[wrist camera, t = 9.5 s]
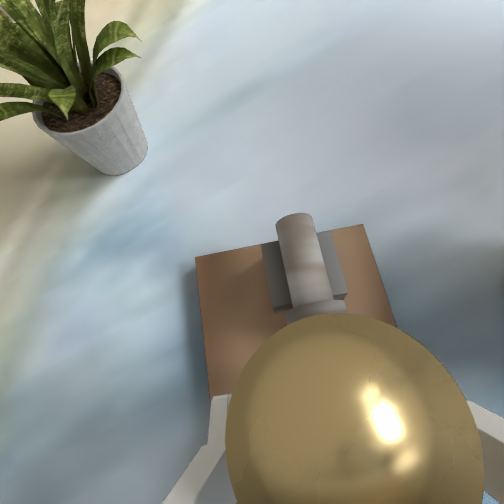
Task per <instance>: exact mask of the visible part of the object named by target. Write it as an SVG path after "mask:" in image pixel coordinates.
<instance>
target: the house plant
mask: <svg viewBox="0 0 504 504" xmlns="http://www.w3.org/2000/svg"><path fill="white" fill-rule="evenodd" d="M35 1H36V4H37V6H38V8H39V11H40V13H41V15H42V17H41V15H40V14H39V13H38V11H37V10H36V9H35V7H34V6H33V5H32V3H31V2H30V0H0V6H1V7H2V8H3V9H4V10H5V11H6V12H7V13H8V14H9V15H10V16H11V17H12V18H13V19H14V21H15V22H16V23H12V21H11V20H10V19H9V18H8V16H6V15H5V14H4V13H3V12H2V11H1V10H0V67H2V68H5V69H8V70H10V71H13V72H16V73H18V74H20V75H22V76H23V77H24V78H25V79H26V80H27V82H28V83H29V84H30V85H31V86H29V85H24V84H14V83H0V97H18V98H26V99H30V100H33V103H29V102H5V103H1V104H0V121H1V120H4V119H7V118H10V117H13V116H16V115H20V114H24V113H28V112H32V114H33V119H34V121H35V123H36V124H37V126H38V127H39V128H40V129H42V130H43V131H44V132H46V133H47V134H49V135H50V136H51V137H53V138H54V139H56V140H57V141H58V142H60V143H61V144H62V145H64V146H65V147H67V148H68V149H69V150H71V151H72V152H74V153H75V154H76V155H78V156H79V157H81V158H82V159H83V160H85V161H86V162H88V163H89V164H90V165H92V166H93V167H95V168H96V169H97V170H99V171H100V172H102V173H104V174H107V175H121V174H125V173H127V172H128V171H130V170H132V169H133V168H135V167H136V166H137V165H138V164H140V163H141V162H142V161H143V159H144V157H145V155H146V152H147V149H148V148H147V141H146V138H145V135H144V133H143V130H142V127H141V125H140V122H139V119H138V117H137V114H136V111H135V109H134V106H133V103H132V101H131V98H130V95H129V92H128V90H127V87H126V84H125V82H124V79H123V77H122V74H121V73H120V72H119V71H118V70H117V69H116V68H115V67H113V66H114V65H116V64H117V63H119V62H121V61H123V60H125V59H126V58H131V57H139V56H137V55H135V54H134V53H132V52H130V51H129V50H127V49H126V48H120V47H116V48H111V49H109V50H107V51H105V52H104V53H103V54H102V55H101V56H99V57H98V54H99V53H100V52H101V51H102V50H103V49H104V48H105V47H106V46H108V45H110V44H112V43H114V42H116V41H118V40H121V39H123V38H125V37H128V36H130V37H137V35H136V34H135V33H134V32H133V31H132V30H131V29H130V27H129V26H128V25H127V24H125V23H123V22H120V21H113V22H111V23H109V24H107V25H106V26H105V27H104V28H103V29H102V31H101V32H100V33H99V35H98V36H97V38H96V42H95V45H94V48H93V61H90V56H89V51H88V46H87V41H86V34H85V18H84V7H85V0H62V1H59V2H57V3H55V0H35ZM69 19H70V24H71V29H72V41H73V48H72V43H71V35H70V27H69ZM137 38H138V37H137ZM138 39H139V38H138ZM139 40H140V39H139ZM140 41H141V40H140ZM75 46H76V51H77V55H78V59H79V63H77V58H76V51H75ZM73 50H74V51H73ZM97 57H98V59H97ZM139 58H141V57H139ZM96 59H97V60H96Z"/></svg>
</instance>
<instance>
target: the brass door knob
mask: <svg viewBox="0 0 504 504" xmlns="http://www.w3.org/2000/svg"><path fill="white" fill-rule="evenodd" d="M225 449H226V461H227V467H228V472H229V478H230V481H231V484H232V488H233V491H234V495H235V497H236V500H237V502H238V504H482V499H483V492H484V462H483V452H482V447H481V442H480V437H479V433H478V430H477V427H476V424H475V420H474V417H473V415H472V412H471V410H470V408H469V406H468V403H467V401H466V399H465V397H464V395H463V394H462V392H461V390H460V389H459V387H458V385H457V383H456V382H455V380H454V379H453V378H452V376H451V375H450V374H449V372H448V371H447V370H446V368H445V367H444V366H443V365H442V364H441V363H440V361H439V360H438V359H437V358H436V357H435V356H434V355H433V354H432V353H431V352H430V351H429V350H427V349H426V348H425V347H424V346H423V345H422V344H421V343H419V342H418V341H417V340H415V339H414V338H412V337H411V336H409V335H408V334H407V333H405V332H403V331H401V330H399V329H398V328H396V327H394V326H392V325H390V324H387V323H385V322H382V321H380V320H377V319H374V318H370V317H367V316H363V315H357V314H349V313H328V314H319V315H315V316H311V317H307V318H303V319H301V320H298V321H296V322H293V323H291V324H289V325H287V326H286V327H284V328H282V329H280V330H279V331H277V332H276V333H275V334H273V335H272V336H271V337H269V338H268V339H267V340H266V341H265V342H264V343H263V344H262V345H261V346H260V347H259V348H258V349H257V350H256V351H255V352H254V354H253V355H252V356H251V358H250V359H249V360H248V361H247V363H246V365H245V367H244V368H243V370H242V372H241V373H240V375H239V378H238V380H237V382H236V384H235V387H234V389H233V392H232V396H231V399H230V403H229V407H228V413H227V418H226V429H225Z"/></svg>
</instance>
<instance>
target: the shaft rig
mask: <svg viewBox="0 0 504 504" xmlns="http://www.w3.org/2000/svg"><path fill="white" fill-rule="evenodd" d="M276 230H277V235H278V240H279V241H274V242H269V243H264V244H260V245H255V246H250V247H245V248H240V249H235V250H230V251H225V252H220V253H215V254H210V255H204V256H199V257H195V263H196V272H197V282H198V291H199V300H200V310H201V319H202V328H203V338H204V347H205V357H206V366H207V375H208V385H209V394H210V404H211V401H212V399H213V396H220V395H227V394H231V393H232V392H233V389H234V387H235V384H236V382H237V380H238V378H239V375H240V373H241V372H242V370H243V368H244V367H245V365H246V363H247V361H248V360H249V359H250V358H251V356H252V355H253V354H254V352H255V351H256V350H257V349H258V348H259V347H260V346H261V345H262V344H263V343H264V342H265V341H266V340H267V339H268V338H269V337H271V336H272V335H273V334H275V333H276V332H277V331H279V330H280V329H282V328H284V327H286V326H287V325H289V324H291V323H293V322H296V321H298V320H301V319H303V318H307V317H311V316H315V315H319V314H328V313H349V314H357V315H363V316H367V317H370V318H374V319H377V320H380V321H382V322H385V323H387V324H390V325H392V326H394V327H396V328H397V326H396V323H395V320H394V317H393V314H392V311H391V307H390V304H389V301H388V298H387V295H386V292H385V289H384V286H383V283H382V280H381V277H380V274H379V271H378V268H377V265H376V262H375V259H374V256H373V253H372V250H371V247H370V244H369V241H368V238H367V235H366V232H365V229H364V226H363V224H360V225H355V226H350V227H345V228H340V229H335V230H330V231H325V232H320V233H316V231H315V227H314V223H313V219H312V216H311V215H309V214H306V213H296V214H291V215H288V216H285V217H283V218H282V219H280V220H279V221H278V222H277V223H276ZM236 504H238V502H237V503H236Z"/></svg>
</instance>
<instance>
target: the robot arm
mask: <svg viewBox="0 0 504 504" xmlns="http://www.w3.org/2000/svg"><path fill="white" fill-rule="evenodd" d="M231 396H232V393H231V394H227V395H220V396H213V399H212V401H211V411H210V421H209V431H208V442H207V445H202V447H201V448H200V450H199V451H198V453H197V454H196V455H195V457H194V458H193V460H192V461H191V463H190V464H189V465H188V467H187V468H186V470H185V471H184V473H183V474H182V476H181V477H180V478H179V480H178V481H177V483H176V484H175V486H174V487H173V488H172V490H171V491H170V493H169V494H168V496H167V497H166V498H165V500H164V501H163V503H162V504H236V503H237V500H236V497H235V495H234V491H233V488H232V484H231V481H230V478H229V472H228V467H227V461H226V449H225V429H226V418H227V413H228V407H229V403H230V399H231ZM467 403H468V406H469V408H470V410H471V412H472V415H473V417H474V420H475V424H476V427H477V430H478V433H479V437H480V442H481V447H482V452H483V462H484V491H485V492H486V493H488V494H489V495H490V496H491V497H493V498H494V499H495V500H496V501H497V502H499V503H500V504H504V418H502V417H500V416H498V415H496V414H494V413H493V412H491V411H489V410H487V409H485V408H483V407H481V406H479V405H477V404H476V403H474V402H472V401H470V400H468V401H467Z"/></svg>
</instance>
